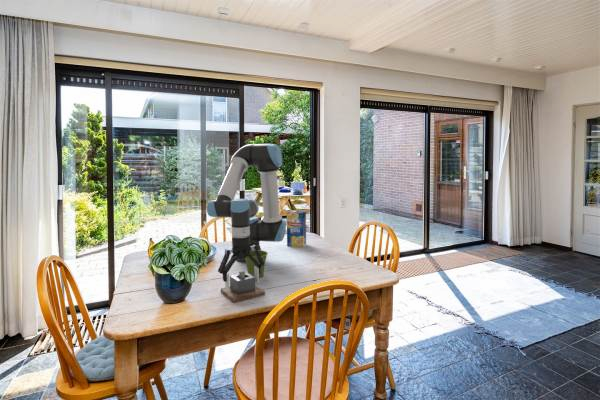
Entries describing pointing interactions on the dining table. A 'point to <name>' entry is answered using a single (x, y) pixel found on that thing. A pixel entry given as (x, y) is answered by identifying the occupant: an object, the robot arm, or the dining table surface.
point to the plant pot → (251, 265)
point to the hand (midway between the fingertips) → (242, 285)
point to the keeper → (242, 297)
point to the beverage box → (296, 228)
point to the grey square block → (242, 284)
